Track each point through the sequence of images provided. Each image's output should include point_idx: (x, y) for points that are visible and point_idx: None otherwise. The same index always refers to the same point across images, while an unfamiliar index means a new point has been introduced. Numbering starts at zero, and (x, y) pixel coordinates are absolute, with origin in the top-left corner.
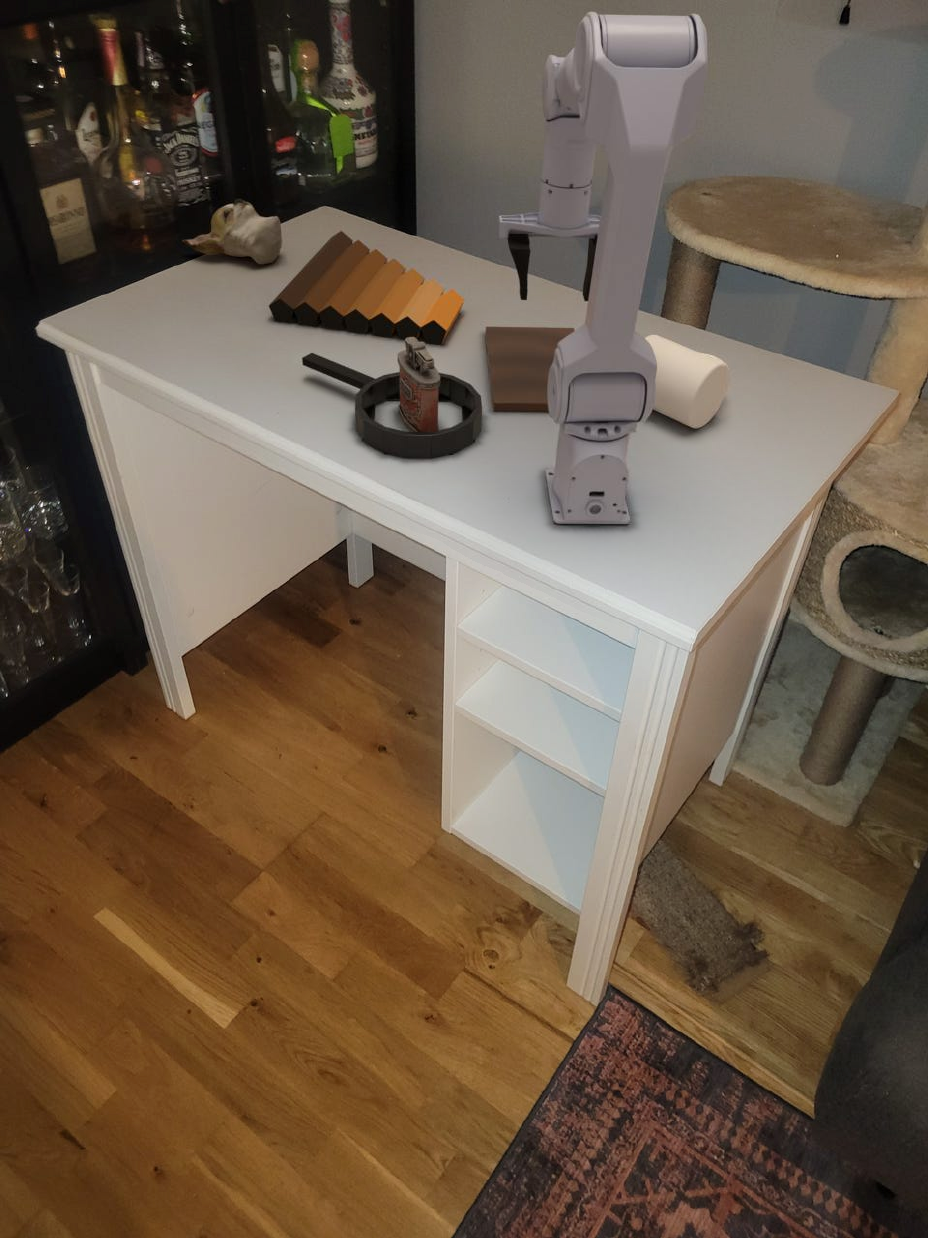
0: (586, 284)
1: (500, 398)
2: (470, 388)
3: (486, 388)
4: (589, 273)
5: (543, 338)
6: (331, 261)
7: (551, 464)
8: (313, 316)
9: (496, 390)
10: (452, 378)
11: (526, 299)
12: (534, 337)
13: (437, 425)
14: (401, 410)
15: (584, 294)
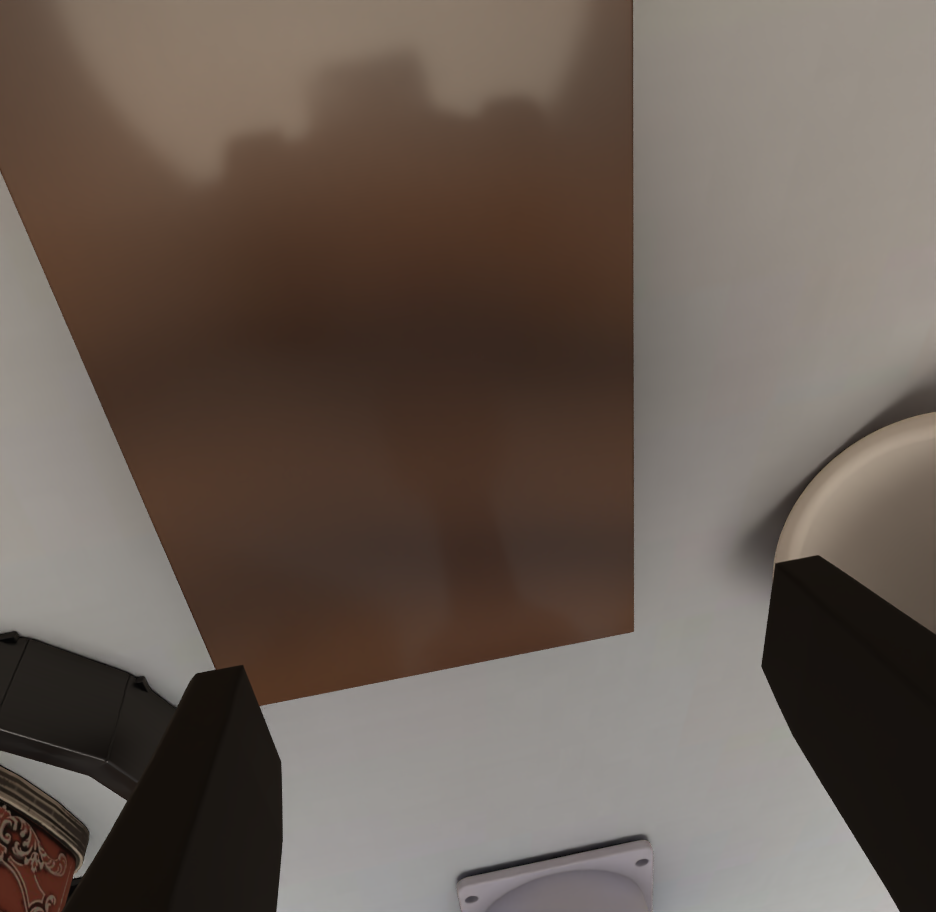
0: (839, 753)
1: (253, 685)
2: (119, 784)
3: (158, 542)
4: (918, 888)
5: (392, 24)
6: None
7: (471, 843)
8: None
9: (221, 640)
10: (2, 746)
11: (279, 771)
12: (324, 20)
13: (70, 878)
14: None
15: (784, 665)
